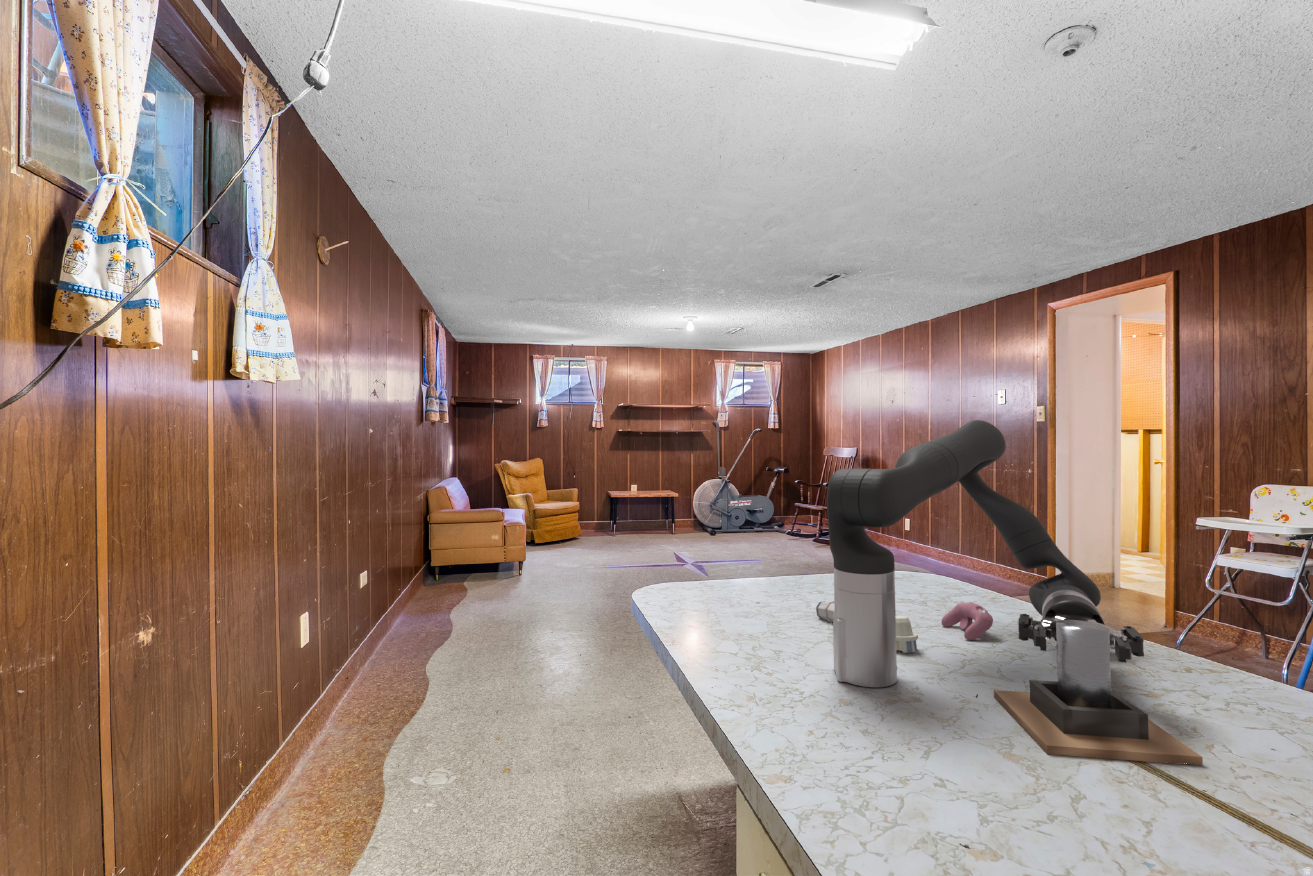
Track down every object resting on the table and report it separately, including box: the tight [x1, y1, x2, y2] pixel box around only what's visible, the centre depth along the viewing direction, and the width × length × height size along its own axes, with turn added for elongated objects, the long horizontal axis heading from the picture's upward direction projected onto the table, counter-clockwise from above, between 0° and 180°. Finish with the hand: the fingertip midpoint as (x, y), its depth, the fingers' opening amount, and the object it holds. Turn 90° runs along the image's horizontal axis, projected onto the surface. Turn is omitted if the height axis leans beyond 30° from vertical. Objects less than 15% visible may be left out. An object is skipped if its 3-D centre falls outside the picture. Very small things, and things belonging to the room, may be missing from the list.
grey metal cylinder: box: [1056, 620, 1112, 709], centre depth 75 cm, size 6×6×12 cm
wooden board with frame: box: [993, 679, 1204, 766], centre depth 75 cm, size 16×16×4 cm
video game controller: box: [940, 600, 994, 641], centre depth 113 cm, size 10×5×7 cm, turn 2°
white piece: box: [815, 600, 919, 653], centre depth 113 cm, size 5×7×25 cm
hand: (1081, 649), depth 77 cm, fingers open, 8 cm apart
